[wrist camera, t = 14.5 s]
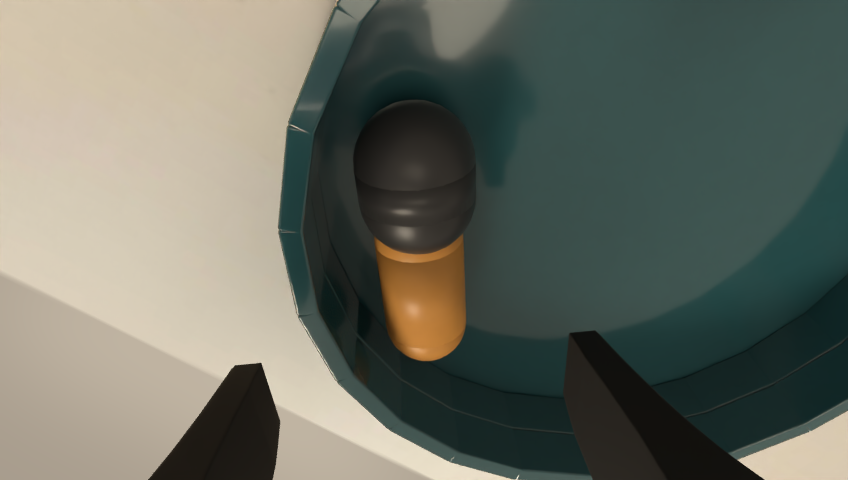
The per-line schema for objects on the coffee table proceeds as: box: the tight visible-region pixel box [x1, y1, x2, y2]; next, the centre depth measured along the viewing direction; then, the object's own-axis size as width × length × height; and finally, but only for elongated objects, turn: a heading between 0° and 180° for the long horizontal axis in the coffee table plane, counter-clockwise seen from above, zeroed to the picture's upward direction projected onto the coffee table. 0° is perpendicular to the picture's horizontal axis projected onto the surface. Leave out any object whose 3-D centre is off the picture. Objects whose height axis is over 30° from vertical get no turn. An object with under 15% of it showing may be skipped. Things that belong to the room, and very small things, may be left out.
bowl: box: [278, 0, 848, 480], centre depth 15 cm, size 20×20×4 cm
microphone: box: [353, 100, 476, 361], centre depth 15 cm, size 9×3×3 cm, turn 4°
